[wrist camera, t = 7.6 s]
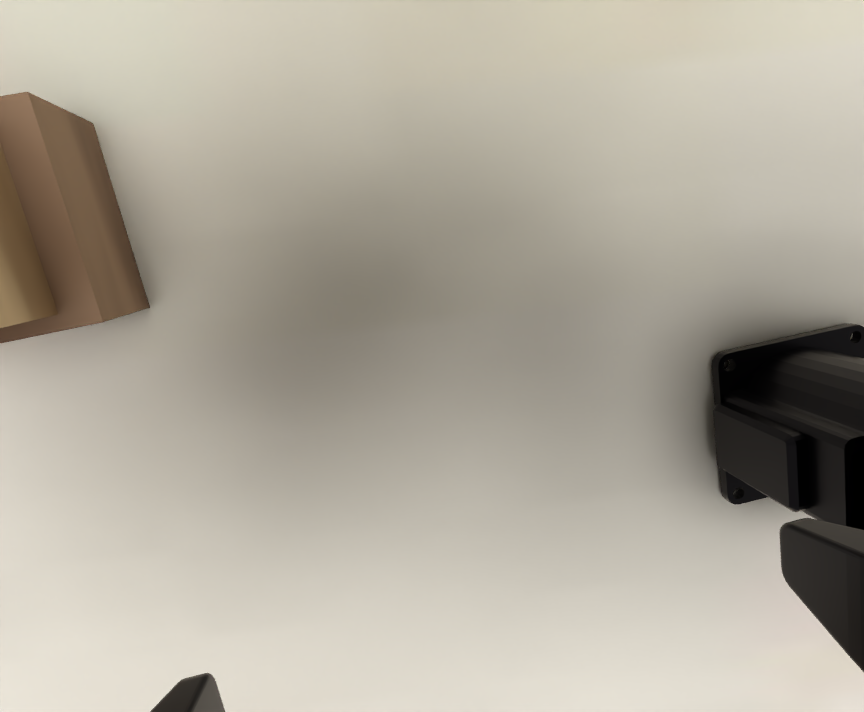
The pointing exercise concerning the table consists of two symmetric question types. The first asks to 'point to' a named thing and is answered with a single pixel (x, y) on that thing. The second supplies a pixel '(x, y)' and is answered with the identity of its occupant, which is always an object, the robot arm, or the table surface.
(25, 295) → the oak block
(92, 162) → the walnut block
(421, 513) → the table surface
